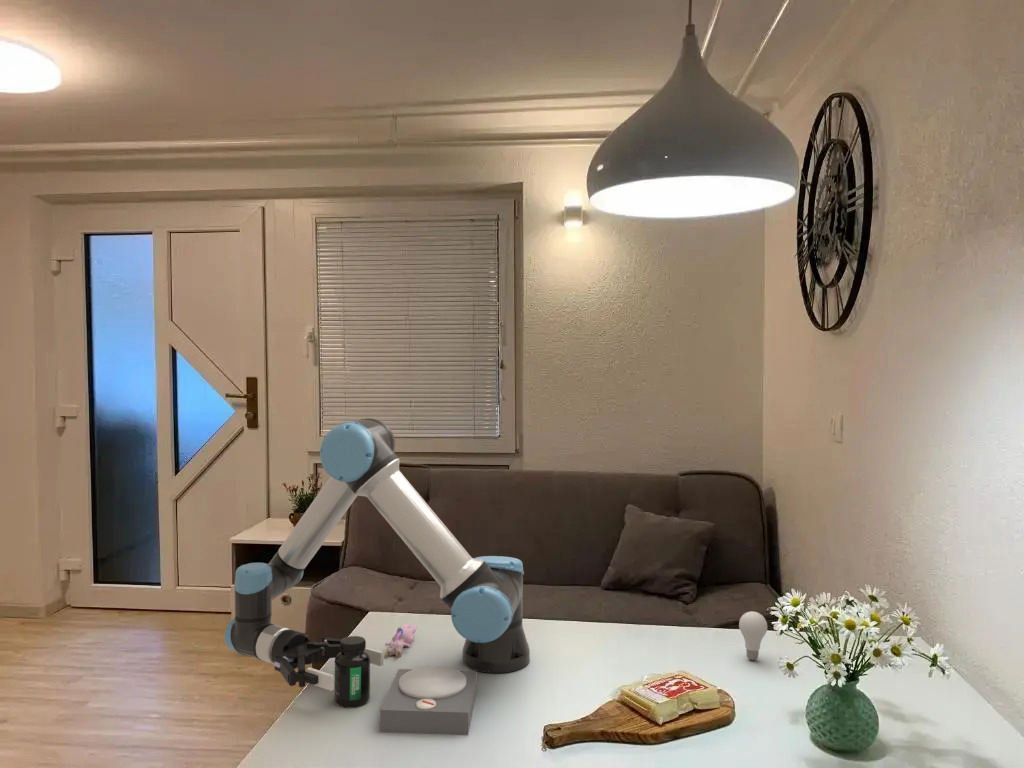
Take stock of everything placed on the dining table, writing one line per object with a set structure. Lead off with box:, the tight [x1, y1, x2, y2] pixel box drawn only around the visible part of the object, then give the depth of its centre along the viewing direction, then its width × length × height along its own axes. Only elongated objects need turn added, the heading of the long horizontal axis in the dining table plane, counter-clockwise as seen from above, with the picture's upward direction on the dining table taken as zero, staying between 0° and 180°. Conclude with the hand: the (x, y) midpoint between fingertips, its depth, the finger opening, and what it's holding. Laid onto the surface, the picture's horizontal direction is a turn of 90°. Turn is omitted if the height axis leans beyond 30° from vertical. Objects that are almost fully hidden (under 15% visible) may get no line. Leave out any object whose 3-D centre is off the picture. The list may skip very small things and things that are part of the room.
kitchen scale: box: [379, 665, 478, 735], centre depth 145 cm, size 18×16×5 cm
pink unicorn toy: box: [383, 623, 418, 659], centre depth 176 cm, size 6×6×15 cm
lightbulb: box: [738, 610, 768, 661], centre depth 171 cm, size 6×6×11 cm
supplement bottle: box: [334, 635, 371, 708], centre depth 148 cm, size 7×7×12 cm
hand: (358, 670), depth 147 cm, fingers open, 13 cm apart
